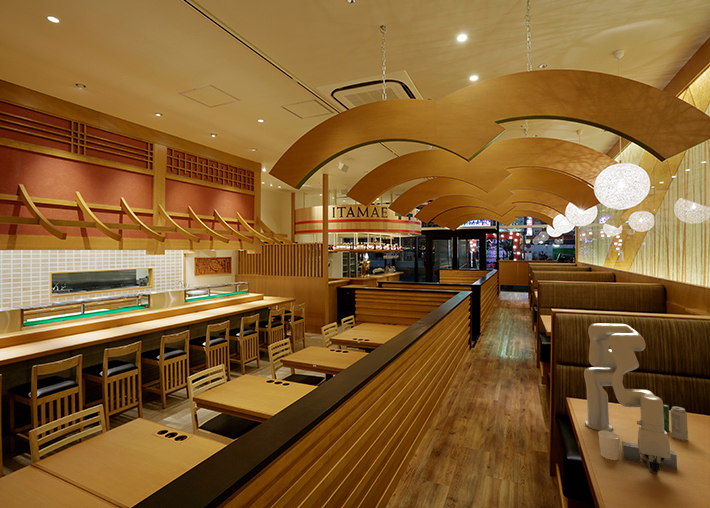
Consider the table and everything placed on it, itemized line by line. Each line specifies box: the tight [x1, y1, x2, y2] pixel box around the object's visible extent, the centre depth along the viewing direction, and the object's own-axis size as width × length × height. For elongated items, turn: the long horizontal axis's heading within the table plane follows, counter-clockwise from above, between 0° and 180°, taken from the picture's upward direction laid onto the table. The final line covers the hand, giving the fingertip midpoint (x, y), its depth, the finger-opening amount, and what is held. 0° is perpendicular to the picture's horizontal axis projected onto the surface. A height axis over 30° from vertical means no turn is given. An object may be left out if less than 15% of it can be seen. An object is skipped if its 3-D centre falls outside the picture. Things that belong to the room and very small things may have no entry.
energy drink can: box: [670, 405, 689, 442], centre depth 180 cm, size 6×6×15 cm
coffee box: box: [663, 403, 670, 432], centre depth 190 cm, size 8×3×13 cm, turn 44°
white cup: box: [598, 431, 620, 461], centre depth 165 cm, size 8×8×10 cm
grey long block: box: [621, 441, 678, 470], centre depth 160 cm, size 4×18×6 cm, turn 61°
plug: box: [640, 454, 657, 474], centre depth 157 cm, size 14×4×4 cm, turn 150°
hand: (654, 470), depth 150 cm, fingers closed
